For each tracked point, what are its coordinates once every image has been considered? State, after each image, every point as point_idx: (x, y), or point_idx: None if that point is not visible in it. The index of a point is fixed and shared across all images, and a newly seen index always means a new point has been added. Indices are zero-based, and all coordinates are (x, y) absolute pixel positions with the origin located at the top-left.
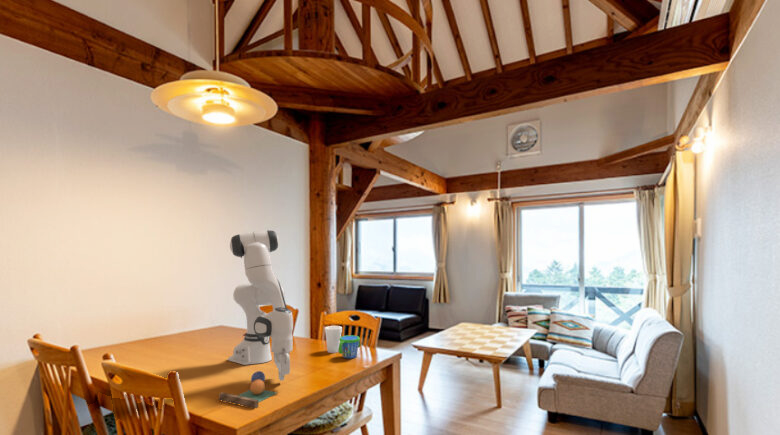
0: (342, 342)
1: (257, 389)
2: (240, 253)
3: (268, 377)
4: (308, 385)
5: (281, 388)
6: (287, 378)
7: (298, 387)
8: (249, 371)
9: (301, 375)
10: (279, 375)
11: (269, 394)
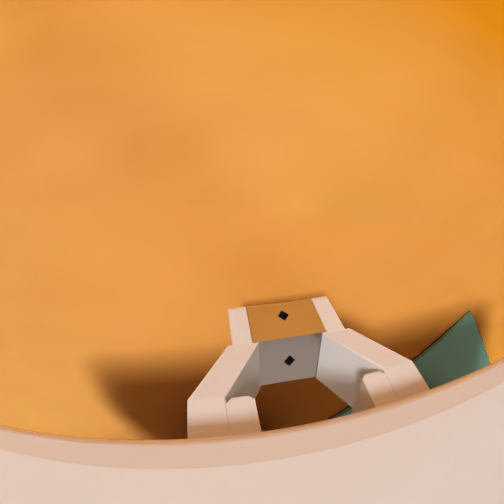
0: None
1: None
2: None
3: (51, 377)
4: (456, 18)
5: (411, 286)
6: (92, 211)
7: (469, 129)
8: None
9: (27, 23)
10: (290, 380)
11: (463, 351)
